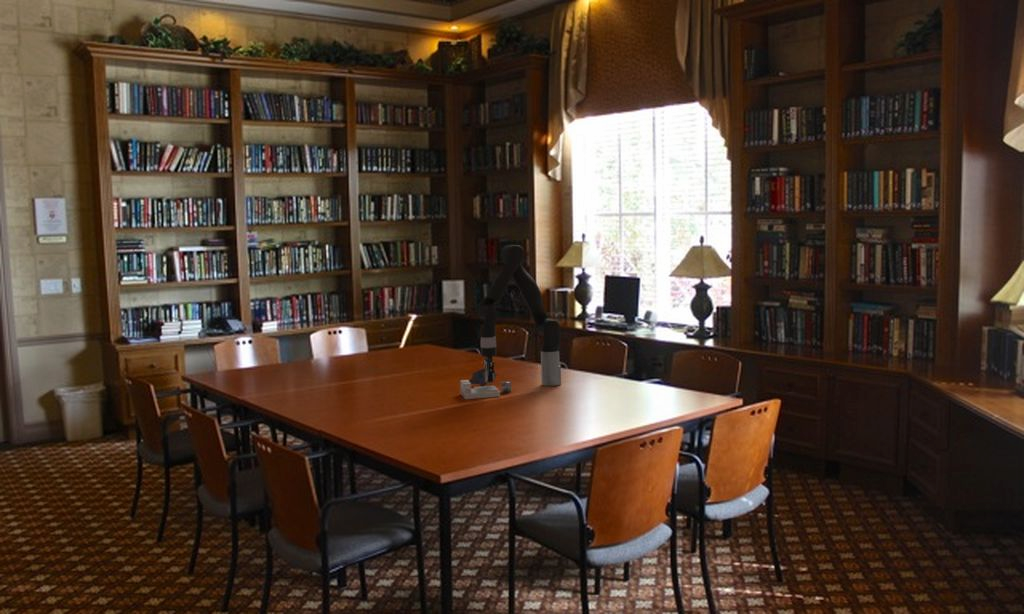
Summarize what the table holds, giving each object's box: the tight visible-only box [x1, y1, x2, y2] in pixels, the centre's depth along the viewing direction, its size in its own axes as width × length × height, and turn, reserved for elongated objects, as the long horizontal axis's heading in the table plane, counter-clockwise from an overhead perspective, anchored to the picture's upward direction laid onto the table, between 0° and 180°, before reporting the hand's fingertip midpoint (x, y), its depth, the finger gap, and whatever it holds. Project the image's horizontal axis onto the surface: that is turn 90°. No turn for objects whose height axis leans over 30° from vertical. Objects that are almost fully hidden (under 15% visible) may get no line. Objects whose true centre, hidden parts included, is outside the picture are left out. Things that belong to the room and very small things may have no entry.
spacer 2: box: [501, 381, 512, 394], centre depth 439 cm, size 4×4×5 cm
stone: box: [468, 367, 498, 387], centre depth 458 cm, size 14×6×10 cm, turn 117°
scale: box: [460, 379, 501, 400], centre depth 434 cm, size 17×13×7 cm
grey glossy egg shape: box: [485, 371, 495, 384], centre depth 438 cm, size 4×4×5 cm
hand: (489, 380), depth 438 cm, fingers closed on grey glossy egg shape, 4 cm apart
